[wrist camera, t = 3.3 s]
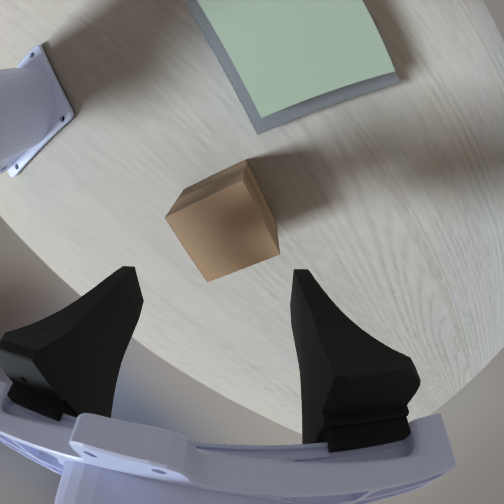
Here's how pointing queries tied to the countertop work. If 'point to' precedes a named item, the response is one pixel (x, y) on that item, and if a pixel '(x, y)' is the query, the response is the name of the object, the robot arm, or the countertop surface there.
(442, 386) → the countertop surface
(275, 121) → the tower base
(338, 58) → the tower top
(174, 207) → the walnut block
